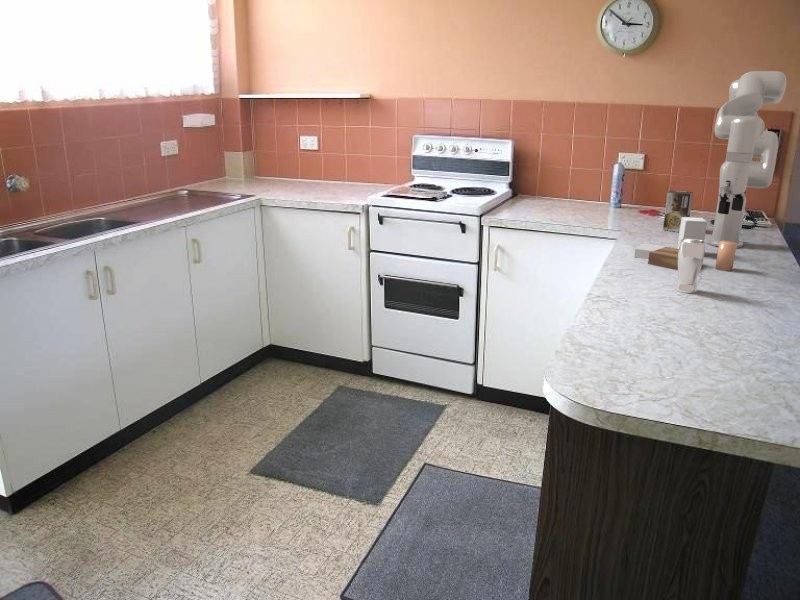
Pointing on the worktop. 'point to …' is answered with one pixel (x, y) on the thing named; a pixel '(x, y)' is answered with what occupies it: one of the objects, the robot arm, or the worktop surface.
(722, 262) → the glossy peach capsule
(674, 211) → the coffee box
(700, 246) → the beer glass
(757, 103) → the robot arm
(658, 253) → the walnut plinth
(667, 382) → the worktop surface
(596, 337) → the worktop surface
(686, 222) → the supplement box
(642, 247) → the white plinth
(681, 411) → the worktop surface
